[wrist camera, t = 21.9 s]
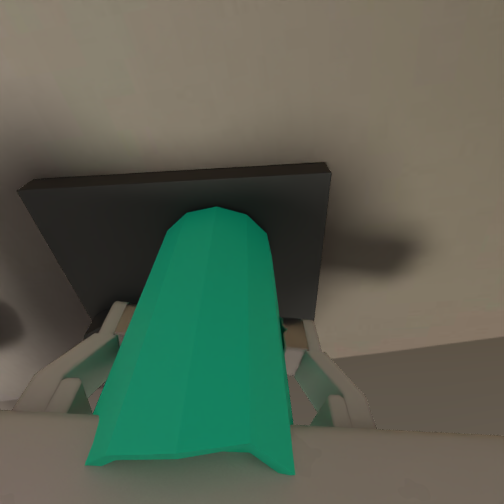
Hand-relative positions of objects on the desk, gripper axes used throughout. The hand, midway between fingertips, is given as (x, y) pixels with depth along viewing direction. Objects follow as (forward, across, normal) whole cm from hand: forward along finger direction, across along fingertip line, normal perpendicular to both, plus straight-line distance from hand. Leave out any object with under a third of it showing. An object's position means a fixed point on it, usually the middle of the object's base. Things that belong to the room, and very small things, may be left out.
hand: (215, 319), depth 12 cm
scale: (+6, +1, +2) cm, 7 cm away
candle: (+5, 0, 0) cm, 5 cm away
